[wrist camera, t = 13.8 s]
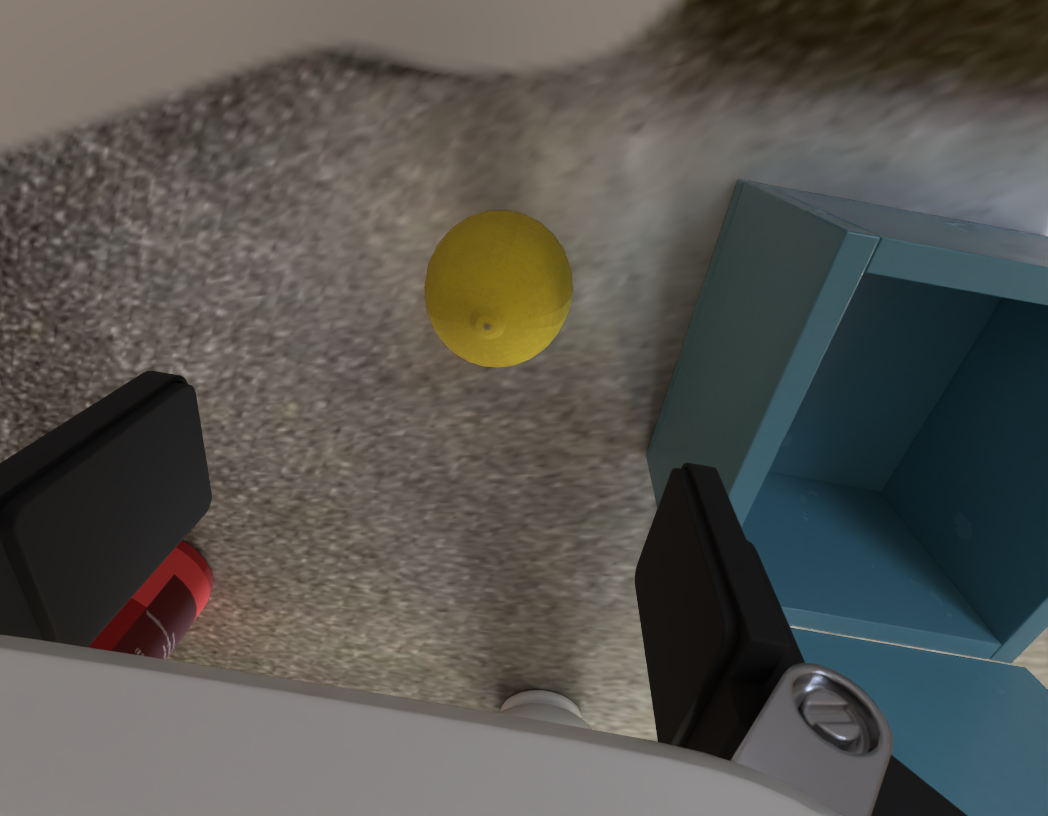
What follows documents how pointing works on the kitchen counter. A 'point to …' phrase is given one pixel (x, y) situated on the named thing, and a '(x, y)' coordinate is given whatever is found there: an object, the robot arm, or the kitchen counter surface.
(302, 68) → the kitchen counter surface
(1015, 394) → the teal box
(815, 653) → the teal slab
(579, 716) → the flower vase
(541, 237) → the lemon
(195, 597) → the canned food
